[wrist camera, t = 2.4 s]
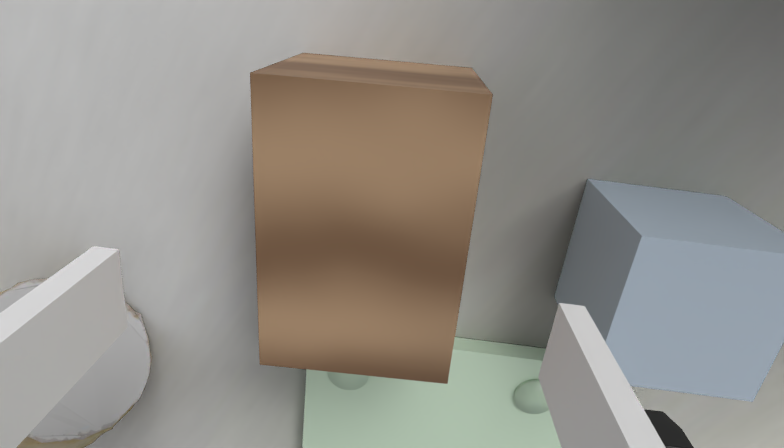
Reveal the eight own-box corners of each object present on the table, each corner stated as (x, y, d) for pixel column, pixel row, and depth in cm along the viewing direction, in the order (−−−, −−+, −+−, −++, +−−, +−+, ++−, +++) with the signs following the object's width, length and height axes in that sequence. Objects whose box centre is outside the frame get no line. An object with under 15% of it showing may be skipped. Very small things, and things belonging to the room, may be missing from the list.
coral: (174, 429, 24) (-10, 569, 23) (183, 337, 34) (53, 433, 32) (18, 288, 21) (-212, 446, 19) (76, 228, 30) (-76, 332, 29)
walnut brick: (303, 52, 24) (250, 72, 17) (471, 67, 24) (492, 94, 16) (301, 273, 29) (259, 364, 21) (441, 287, 28) (447, 384, 21)
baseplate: (312, 318, 30) (307, 333, 28) (582, 353, 29) (590, 369, 28) (302, 504, 36) (297, 523, 35) (523, 533, 36) (527, 554, 35)
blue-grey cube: (587, 178, 25) (641, 235, 19) (724, 195, 25) (826, 259, 19) (553, 295, 28) (591, 381, 22) (678, 311, 28) (752, 401, 22)
